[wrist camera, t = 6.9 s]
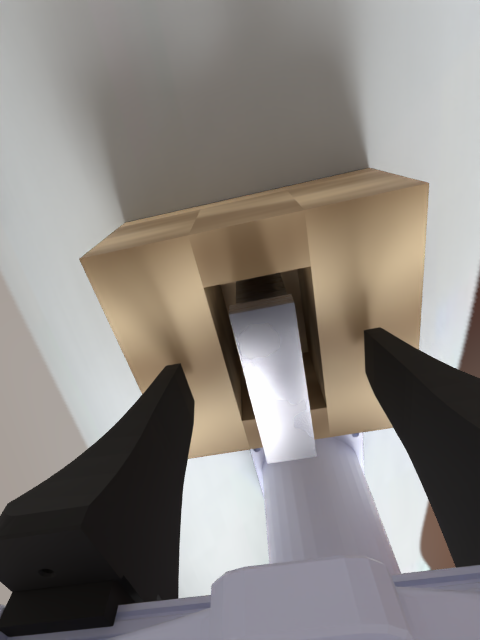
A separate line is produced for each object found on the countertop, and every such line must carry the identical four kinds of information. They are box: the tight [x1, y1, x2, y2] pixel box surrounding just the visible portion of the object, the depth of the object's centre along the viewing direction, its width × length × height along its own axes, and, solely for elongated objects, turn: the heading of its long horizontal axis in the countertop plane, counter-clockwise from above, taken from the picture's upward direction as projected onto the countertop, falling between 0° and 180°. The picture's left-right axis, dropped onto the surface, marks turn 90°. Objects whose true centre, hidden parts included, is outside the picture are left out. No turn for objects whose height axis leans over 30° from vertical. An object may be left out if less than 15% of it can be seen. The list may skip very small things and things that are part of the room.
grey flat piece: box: [229, 273, 317, 464], centre depth 15 cm, size 7×2×7 cm, turn 12°
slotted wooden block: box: [79, 168, 429, 459], centre depth 16 cm, size 11×12×6 cm
